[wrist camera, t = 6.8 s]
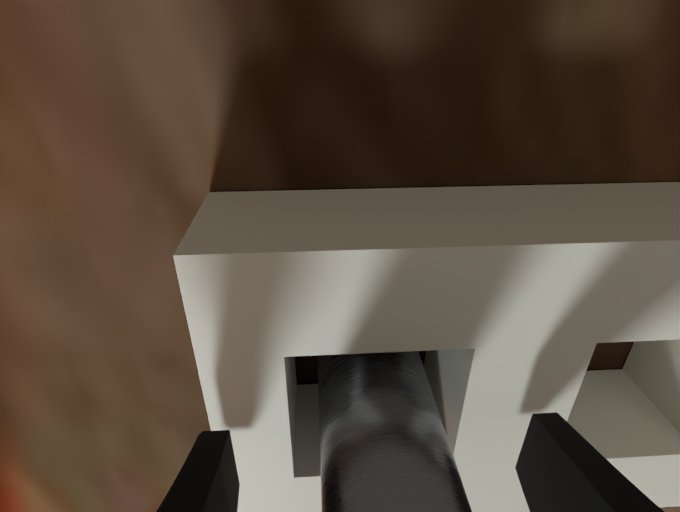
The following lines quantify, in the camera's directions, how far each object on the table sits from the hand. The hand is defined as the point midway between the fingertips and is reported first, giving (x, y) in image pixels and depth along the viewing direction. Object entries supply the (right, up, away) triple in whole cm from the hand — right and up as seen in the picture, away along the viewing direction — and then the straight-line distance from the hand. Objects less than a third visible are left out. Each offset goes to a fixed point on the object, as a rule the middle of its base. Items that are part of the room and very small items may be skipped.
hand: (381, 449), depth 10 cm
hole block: (+3, +2, +4) cm, 6 cm away
